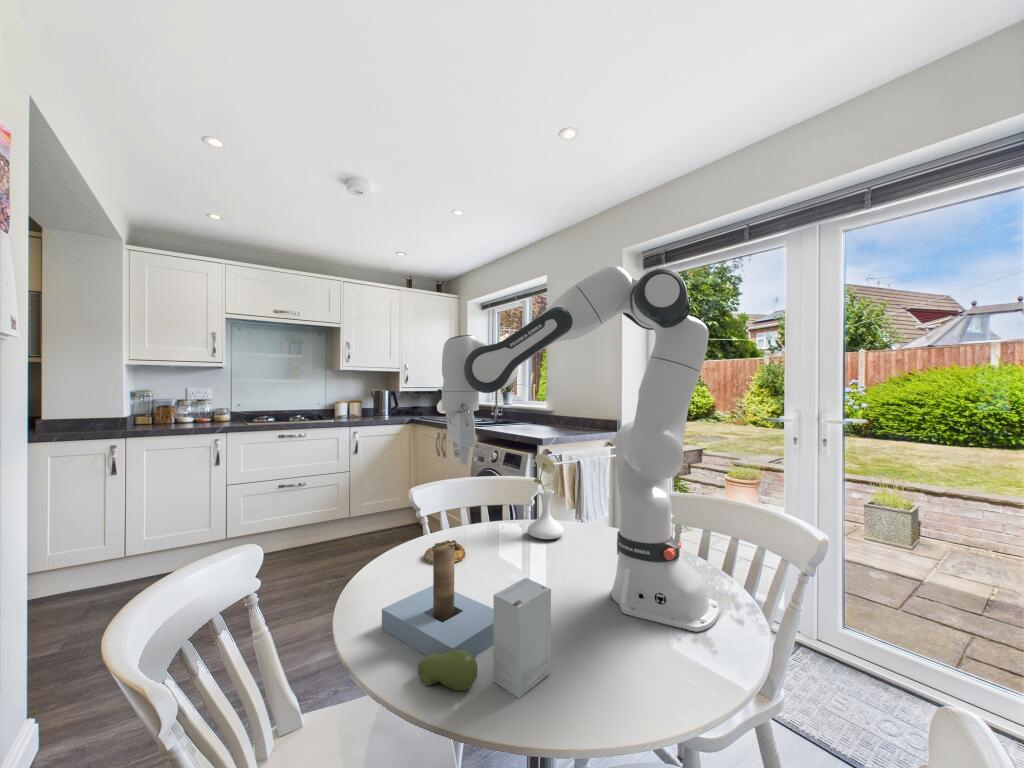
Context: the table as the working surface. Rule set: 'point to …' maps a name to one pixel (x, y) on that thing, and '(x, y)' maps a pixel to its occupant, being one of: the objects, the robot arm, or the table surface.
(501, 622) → the skincare box
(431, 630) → the socket board
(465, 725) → the table surface
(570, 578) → the table surface
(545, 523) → the flower in vase
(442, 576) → the peg
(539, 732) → the table surface
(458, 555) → the bread roll
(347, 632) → the table surface
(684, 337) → the robot arm
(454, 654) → the pear
